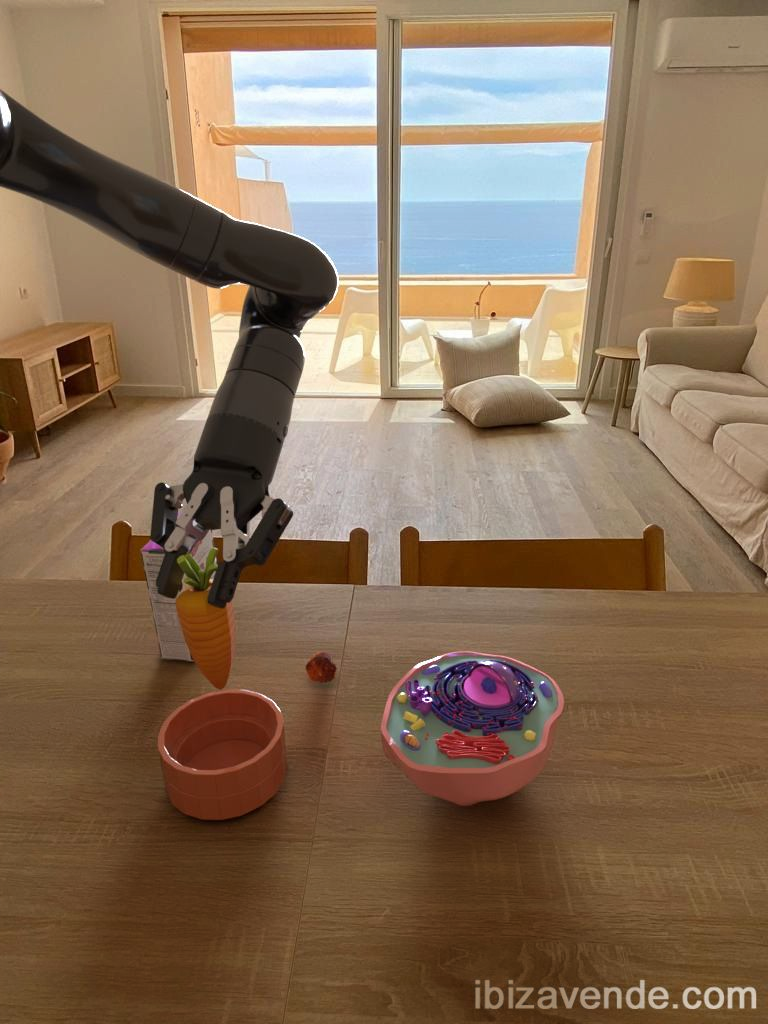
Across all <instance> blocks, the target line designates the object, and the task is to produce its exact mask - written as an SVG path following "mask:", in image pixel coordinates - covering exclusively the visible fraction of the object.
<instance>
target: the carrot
mask: <svg viewBox="0 0 768 1024" xmlns="http://www.w3.org/2000/svg"><path fill="white" fill-rule="evenodd" d="M218 553H219V548H217V547H215V548H211V550H210V551H209V554H208V557H207V561H206V567H205V574H204V570H201V569H200V567H199V565H198V563H197V562H196V561H195V559H194V558H193V557H192V556H191V555H190V554H187V555H185V556H184V555H182V556H180V557H179V558H178V559H177V562H178V564H179V566H180V567H181V569H182V570H183V572H184V573H185V574H186V576H187V577H188V578H185V579H184V583H186V584H188V585H186V586H184V587H183V589H182V590H181V592H180V593H179V595H178V597H177V598H176V609H177V613H178V617H179V621H180V625H181V628H182V632H183V635H184V639H185V642H186V644H187V647H188V649H189V651H190V653H191V656H192V658H193V660H194V662H193V663H195V665H196V667H197V669H198V670H199V671H200V673H201V674H202V675H203V676H204V678H205V679H206V680H207V681H208V682H209V683H210V684H211V686H213V687H214V688H216V689H217V690H219V691H221V690H224V688H225V687H226V686H227V683H228V680H229V678H230V675H231V672H232V669H233V665H234V660H235V654H236V622H235V621H236V620H235V612H234V606H233V605H234V604H233V599H232V600H231V602H230V603H226V606H225V607H224V608H223V609H222V608H217V607H214V606H212V605H210V604H209V603H208V602H207V598H208V595H209V592H210V588H211V585H212V582H213V579H210V578H211V576H212V574H213V573H214V572H215V571H216V569H217V566H218V564H217V565H216V564H214V561H215V558H216V559H217V555H218ZM195 573H196V574H195ZM196 575H197V576H196ZM197 577H198V578H199V580H198V578H197Z"/></svg>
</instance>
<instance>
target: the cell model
mask: <svg viewBox="0 0 768 1024" xmlns="http://www.w3.org/2000/svg"><path fill="white" fill-rule="evenodd" d="M564 707H565V697H564V694H563V691H562V689H561V688H560V687H559V685H558V683H557V682H556V681H555V680H554V679H553V678H552V677H551V676H549V675H548V674H547V673H545V672H543V671H541V670H539V669H537V668H535V667H533V666H532V665H529V664H527V663H525V662H523V661H520V660H518V659H515V658H512V657H510V656H506V655H499V654H489V653H482V652H476V651H471V650H470V651H469V650H468V651H467V650H461V651H453V652H448V653H445V654H441V655H439V656H437V657H434V658H432V659H429V660H426V661H423V662H420V663H418V664H416V665H415V666H413V668H411V669H410V670H409V671H408V672H407V673H406V674H405V675H403V677H401V679H399V681H398V682H397V683H396V684H395V685H394V687H393V688H392V690H391V691H390V693H389V695H388V697H387V700H386V704H385V707H384V711H383V716H382V719H381V724H380V736H381V743H382V750H383V753H384V754H385V757H386V758H387V759H388V760H389V761H390V762H391V763H392V764H394V765H395V767H397V768H398V769H399V770H400V771H401V772H403V773H404V774H405V775H406V777H407V778H408V779H409V781H410V782H411V783H412V784H413V785H414V786H415V787H416V788H417V789H418V790H419V791H420V792H422V793H424V794H426V795H429V796H432V797H436V798H438V799H441V800H444V801H446V802H449V803H452V804H454V805H457V806H461V807H469V806H473V805H476V804H479V803H482V802H488V801H497V800H500V799H503V798H505V797H508V796H511V795H513V794H514V793H516V792H518V791H519V790H521V789H523V788H524V787H526V786H527V785H528V784H530V783H531V782H533V781H535V780H536V779H537V778H538V777H539V776H540V775H541V773H542V772H543V771H544V769H545V767H546V765H547V763H548V759H549V756H550V752H551V750H552V746H553V744H554V740H555V736H556V731H557V728H558V725H559V721H560V719H561V717H562V716H561V715H562V713H563V710H564Z"/></svg>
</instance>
